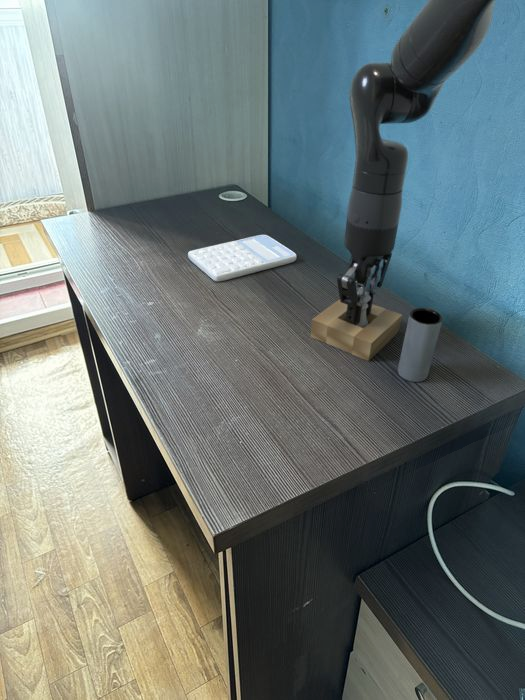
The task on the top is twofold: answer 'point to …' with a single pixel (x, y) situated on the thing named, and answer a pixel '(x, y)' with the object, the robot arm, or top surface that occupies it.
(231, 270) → the calculator
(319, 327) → the holder
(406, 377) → the planter
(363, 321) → the rook chess piece
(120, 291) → the top surface
